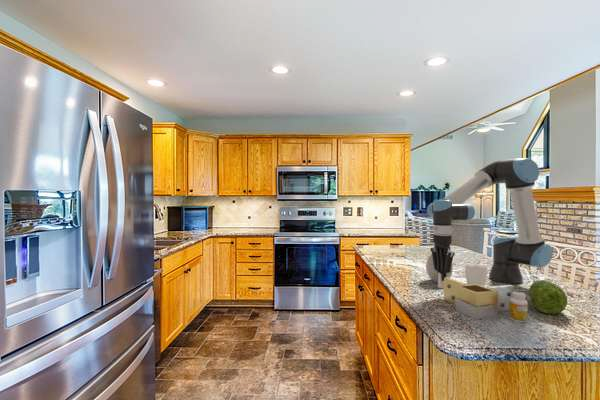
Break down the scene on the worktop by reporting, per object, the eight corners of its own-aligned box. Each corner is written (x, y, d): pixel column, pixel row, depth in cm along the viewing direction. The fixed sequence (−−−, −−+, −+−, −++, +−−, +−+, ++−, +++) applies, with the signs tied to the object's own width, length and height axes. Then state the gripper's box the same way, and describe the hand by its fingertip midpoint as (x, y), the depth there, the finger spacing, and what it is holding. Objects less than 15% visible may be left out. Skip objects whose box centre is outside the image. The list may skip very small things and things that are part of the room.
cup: (489, 294, 143) (490, 268, 143) (468, 293, 145) (468, 267, 144) (482, 288, 152) (483, 264, 151) (462, 287, 153) (462, 263, 153)
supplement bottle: (507, 316, 118) (507, 290, 117) (523, 317, 116) (524, 291, 116) (512, 321, 112) (512, 294, 112) (529, 323, 111) (530, 296, 111)
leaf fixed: (501, 304, 130) (501, 282, 129) (523, 313, 120) (524, 289, 120) (455, 309, 124) (455, 285, 124) (475, 319, 114) (475, 293, 114)
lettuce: (557, 303, 133) (558, 276, 132) (570, 319, 115) (571, 289, 114) (524, 298, 138) (524, 273, 138) (531, 313, 120) (532, 284, 120)
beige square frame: (455, 298, 138) (455, 276, 137) (497, 316, 117) (498, 291, 117) (435, 299, 135) (436, 277, 135) (475, 319, 114) (476, 293, 114)
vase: (439, 277, 172) (440, 247, 172) (458, 283, 160) (458, 251, 160) (420, 279, 168) (421, 248, 168) (438, 285, 156) (438, 252, 156)
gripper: (425, 233, 144) (425, 283, 145) (445, 236, 131) (445, 292, 132) (439, 232, 146) (439, 282, 147) (460, 236, 133) (459, 291, 134)
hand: (441, 287), depth 139 cm, fingers closed
